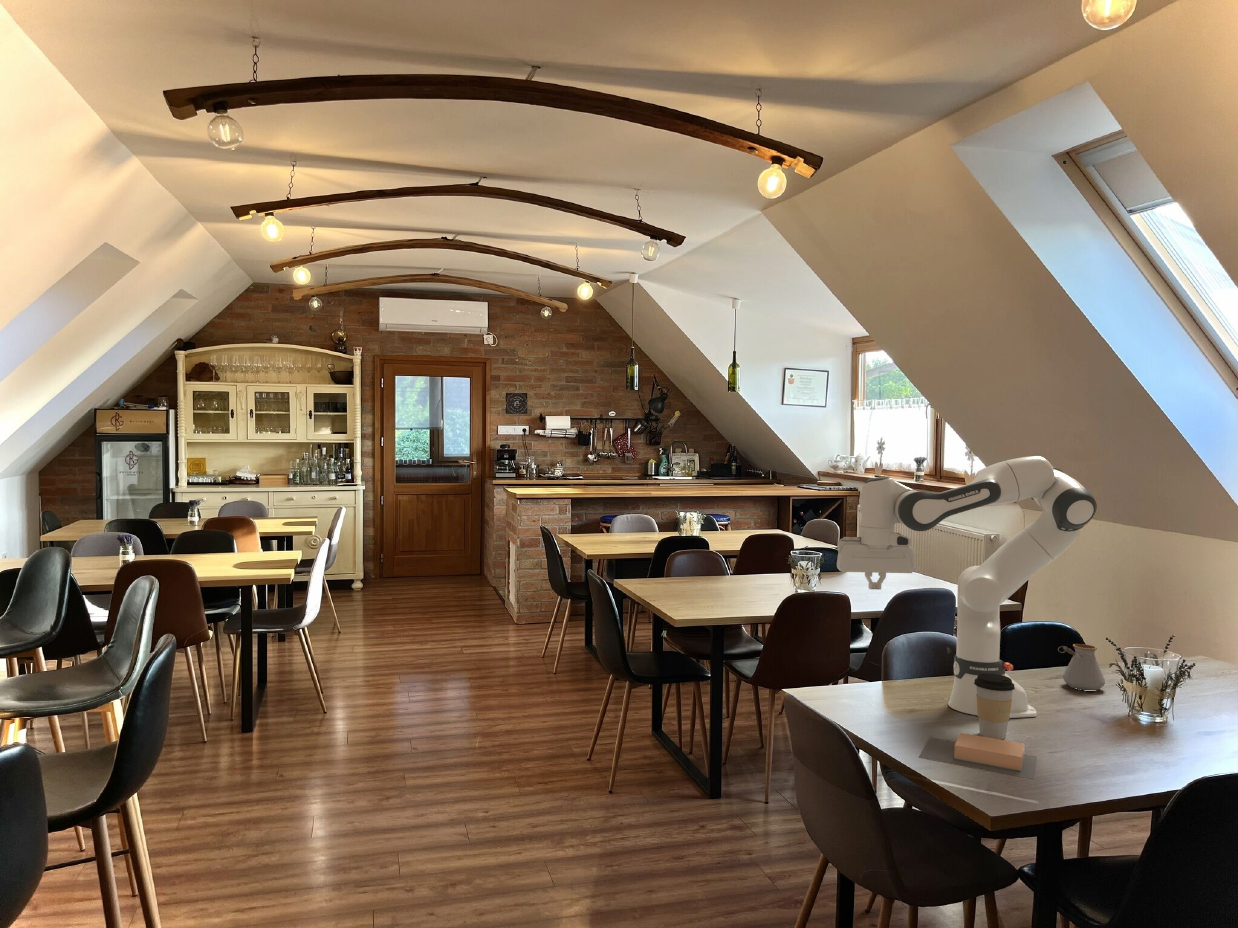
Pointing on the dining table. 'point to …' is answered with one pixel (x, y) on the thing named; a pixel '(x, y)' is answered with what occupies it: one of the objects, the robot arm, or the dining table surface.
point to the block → (989, 751)
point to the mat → (945, 753)
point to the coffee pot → (1083, 668)
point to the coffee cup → (993, 704)
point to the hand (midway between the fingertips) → (874, 589)
